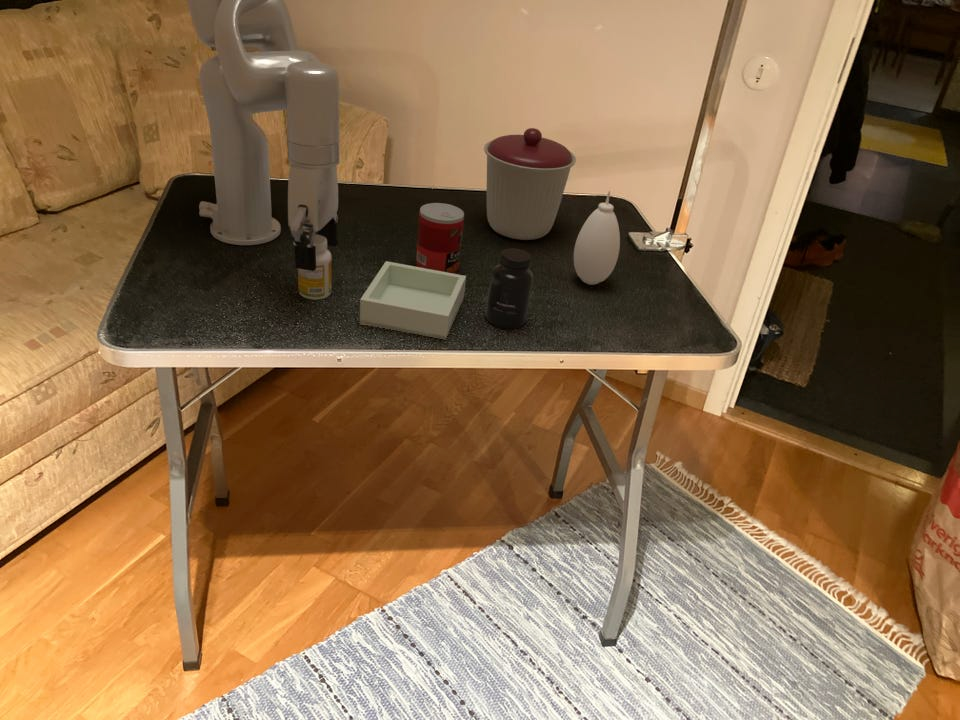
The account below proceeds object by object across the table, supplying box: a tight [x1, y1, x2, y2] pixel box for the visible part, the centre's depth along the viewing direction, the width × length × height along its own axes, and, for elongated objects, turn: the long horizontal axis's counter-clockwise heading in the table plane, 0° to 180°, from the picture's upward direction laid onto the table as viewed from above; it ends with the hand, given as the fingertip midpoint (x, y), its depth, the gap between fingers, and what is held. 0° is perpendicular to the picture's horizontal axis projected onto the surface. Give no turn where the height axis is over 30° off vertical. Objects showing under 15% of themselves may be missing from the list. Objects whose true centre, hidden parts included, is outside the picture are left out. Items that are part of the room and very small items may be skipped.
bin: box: [359, 260, 467, 341], centre depth 122 cm, size 14×14×4 cm
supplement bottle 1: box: [297, 234, 333, 301], centre depth 122 cm, size 5×5×10 cm
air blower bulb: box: [573, 190, 621, 286], centre depth 134 cm, size 8×8×18 cm
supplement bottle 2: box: [485, 247, 534, 330], centre depth 121 cm, size 7×7×12 cm
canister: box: [483, 127, 577, 241], centre depth 149 cm, size 18×18×21 cm
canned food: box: [415, 202, 465, 274], centre depth 134 cm, size 8×8×11 cm
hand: (317, 256), depth 120 cm, fingers open, 9 cm apart
